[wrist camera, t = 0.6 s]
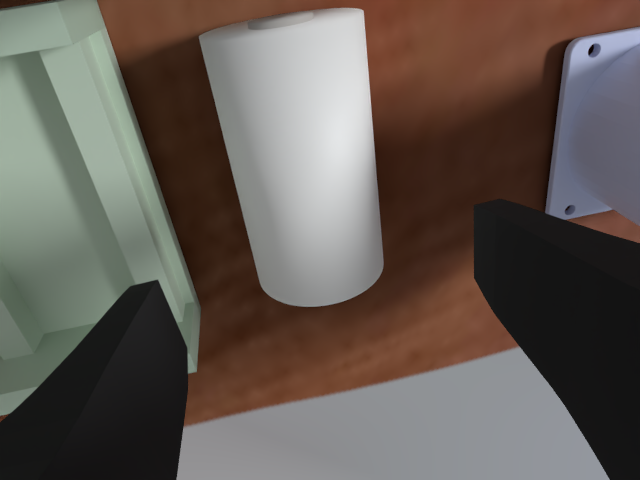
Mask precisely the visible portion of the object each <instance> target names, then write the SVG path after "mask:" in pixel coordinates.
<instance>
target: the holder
mask: <svg viewBox="0 0 640 480" xmlns="http://www.w3.org/2000/svg"><path fill="white" fill-rule="evenodd" d="M154 280H158V281H159V283H160V285H161V288H162V290H163V292H164V295H165V297H166V299H167V302H168V304H169V306H170V308H171V311H172V313H173V315H174V318H175V320H176V322H177V325H178V327H179V329H180V332H181V334H182V336H183V339H184V341H185V343H186V346H187V348H188V373H193V372H197V359H198V345H199V331H200V317H201V307H200V304H199V301H198V298H197V295H196V292H195V289H194V286H193V283H192V280H191V277H190V274H189V271H188V268H187V265H186V262H185V259H184V257H183V254H182V251H181V248H180V245H179V242H178V239H177V236H176V233H175V230H174V227H173V224H172V221H171V218H170V215H169V212H168V209H167V206H166V204H165V201H164V198H163V195H162V192H161V189H160V186H159V183H158V180H157V177H156V174H155V171H154V168H153V165H152V162H151V159H150V156H149V153H148V151H147V148H146V145H145V142H144V139H143V136H142V133H141V130H140V127H139V124H138V121H137V118H136V115H135V112H134V109H133V106H132V103H131V100H130V98H129V95H128V92H127V89H126V86H125V83H124V80H123V77H122V74H121V71H120V68H119V65H118V62H117V59H116V56H115V53H114V50H113V47H112V45H111V42H110V39H109V36H108V33H107V30H106V27H105V24H104V21H103V18H102V15H101V12H100V9H99V6H98V3H97V0H52V1H46V2H40V3H33V4H27V5H21V6H15V7H8V8H2V9H0V416H1V415H6V414H10V413H11V412H13V411H14V410H15V409H16V408H17V407H18V406H19V405H20V404H21V403H22V402H23V401H24V400H25V399H26V398H27V397H28V396H29V395H31V394H32V393H33V392H34V391H35V390H36V389H37V388H38V387H39V386H40V384H41V383H42V382H43V381H44V380H45V379H46V378H47V377H48V376H49V375H50V374H51V373H52V372H53V371H54V370H55V369H56V368H57V367H58V366H59V365H60V364H61V362H62V361H63V360H64V359H65V358H66V357H67V356H68V355H69V354H70V353H71V352H72V351H73V350H74V349H75V348H76V346H77V345H78V344H79V343H80V342H81V341H82V340H83V338H84V337H85V336H86V335H87V334H88V333H89V332H90V330H91V329H92V328H93V327H94V326H95V325H96V324H97V322H98V321H99V320H100V319H101V318H102V317H103V316H104V314H105V313H106V312H107V311H108V310H109V309H110V307H111V306H112V305H113V304H114V303H115V302H116V301H117V299H118V298H119V297H120V296H121V295H122V294H123V293H124V292H125V291H126V290H127V289H128V288H129V287H130V286H132V285H137V284H141V283H145V282H149V281H154Z"/></svg>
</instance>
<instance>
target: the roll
mask: <svg viewBox="0 0 640 480" xmlns="http://www.w3.org/2000/svg"><path fill="white" fill-rule="evenodd" d="M199 41H200V45H201V49H202V53H203V57H204V61H205V65H206V69H207V73H208V77H209V81H210V85H211V89H212V93H213V97H214V101H215V105H216V109H217V113H218V117H219V121H220V125H221V129H222V133H223V137H224V141H225V145H226V149H227V153H228V157H229V161H230V165H231V169H232V173H233V177H234V181H235V185H236V189H237V193H238V197H239V201H240V205H241V209H242V213H243V217H244V221H245V225H246V229H247V234H248V238H249V242H250V246H251V250H252V254H253V258H254V262H255V266H256V270H257V274H258V278H259V282H260V285H261V287H262V289H263V290H264V291H265V292H266V293H267V294H268V295H269V296H270V297H272V298H274V299H275V300H277V301H280V302H282V303H285V304H289V305H294V306H303V307H317V306H326V305H331V304H336V303H339V302H343V301H346V300H348V299H351V298H353V297H355V296H357V295H359V294H361V293H363V292H364V291H366V290H367V289H368V288H370V287H371V286H372V285H373V284H374V283H375V282H376V281H377V279H378V278H379V277H380V275H381V273H382V270H383V266H384V260H383V248H382V235H381V223H380V210H379V198H378V185H377V173H376V161H375V148H374V136H373V123H372V111H371V98H370V86H369V73H368V61H367V49H366V36H365V24H364V11H363V10H361V9H356V8H331V9H319V10H309V11H301V12H292V13H284V14H278V15H272V16H267V17H263V18H258V19H252V20H247V21H243V22H238V23H234V24H230V25H226V26H223V27H219V28H216V29H213V30H210V31H208V32H205V33H203V34H201V35H200V36H199Z"/></svg>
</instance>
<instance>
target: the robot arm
mask: <svg viewBox="0 0 640 480" xmlns="http://www.w3.org/2000/svg"><path fill="white" fill-rule="evenodd" d="M593 44H594V50H593V52H592V53H591V54H590V55H588V50H589V48H590V47H591V45H593ZM568 206H570V207H569V209H568V210H566V211H565V209H566V208H567V207H568ZM609 210H615V211H616V212H618V213H619V214H621V215H623V216H624V217H626V218H627V219H629V220H631V221H632V222H634V223H635V224H637V225H638V226H640V27H635V28H629V29H624V30H618V31H613V32H607V33H602V34H596V35H591V36H585V37H580V38H577V39H574V40H573V41H572V42H570V43H569V45H568V46H567V48H566V51H565V55H564V63H563V71H562V79H561V87H560V95H559V104H558V112H557V120H556V128H555V136H554V145H553V153H552V161H551V169H550V177H549V185H548V194H547V202H546V210H545V213H543V212H541V211H538V210H535V209H532V208H529V207H526V206H523V205H520V204H517V203H513V202H510V201H506V200H502V199H497V200H493V201H489V202H485V203H480V204H476V205H474V279H475V280H476V282H477V284H478V286H479V288H480V290H481V291H482V293H483V295H484V297H485V299H486V300H487V302H488V304H489V305H490V307H491V309H492V310H493V312H494V313H495V315H496V316H497V318H498V319H499V320H500V322H501V323H502V324H503V325H504V327H505V328H506V329H507V331H508V332H509V333H510V335H511V336H512V337H513V338H514V340H515V341H516V342H517V344H518V345H519V346H520V347H521V349H522V350H523V351H524V353H525V354H526V355H527V356H528V358H529V359H530V360H531V361H532V363H533V364H534V365H535V366H536V368H537V369H538V370H539V372H540V373H541V374H542V375H543V377H544V378H545V379H546V381H547V382H548V383H549V385H550V386H551V387H552V388H553V390H554V391H555V392H556V394H557V395H558V397H559V398H560V399H561V401H562V402H563V404H564V405H565V407H566V408H567V410H568V411H569V413H570V415H571V416H572V418H573V419H574V421H575V423H576V424H577V426H578V427H579V429H580V431H581V432H582V434H583V435H584V437H585V439H586V440H587V442H588V443H589V445H590V447H591V448H592V450H593V452H594V453H595V455H596V457H597V459H598V460H599V462H600V464H601V465H602V467H603V469H604V470H605V472H606V474H607V475H608V477H609V479H610V480H640V243H637V242H633V241H630V240H626V239H623V238H619V237H616V236H613V235H609V234H606V233H603V232H600V231H597V230H593V229H590V228H587V227H584V226H581V225H578V224H575V223H572V222H569V221H566V219H571V218H576V217H580V216H585V215H590V214H594V213H599V212H604V211H609ZM187 393H188V348H187V346H186V343H185V341H184V339H183V336H182V334H181V332H180V329H179V327H178V325H177V322H176V320H175V318H174V315H173V313H172V311H171V308H170V306H169V304H168V302H167V299H166V297H165V295H164V292H163V290H162V288H161V285H160V283H159V281H158V280H154V281H149V282H145V283H141V284H137V285H132V286H130V287H129V288H128V289H127V290H126V291H125V292H124V293H123V294H122V295H121V296H120V297H119V298H118V299H117V301H116V302H115V303H114V304H113V305H112V306H111V307H110V309H109V310H108V311H107V312H106V313H105V314H104V316H103V317H102V318H101V319H100V320H99V321H98V322H97V324H96V325H95V326H94V327H93V328H92V329H91V330H90V332H89V333H88V334H87V335H86V336H85V337H84V338H83V340H82V341H81V342H80V343H79V344H78V345H77V346H76V348H75V349H74V350H73V351H72V352H71V353H70V354H69V355H68V356H67V357H66V358H65V359H64V360H63V361H62V362H61V364H60V365H59V366H58V367H57V368H56V369H55V370H54V371H53V372H52V373H51V374H50V375H49V376H48V377H47V378H46V379H45V380H44V381H43V382H42V383H41V384H40V386H39V387H38V388H37V389H36V390H35V391H34V392H33V393H32V394H31V395H29V396H28V397H27V398H26V399H25V400H24V401H23V402H22V403H21V404H20V405H19V406H18V407H17V408H16V409H15V410H14V411H13V412H11V413H10V414H9V415H8V416H7V417H6V418H5V419H4V420H2V421H1V422H0V480H176V477H177V471H178V463H179V456H180V448H181V440H182V433H183V425H184V417H185V409H186V401H187Z"/></svg>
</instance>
